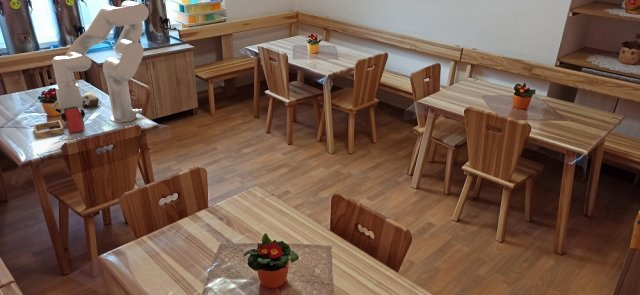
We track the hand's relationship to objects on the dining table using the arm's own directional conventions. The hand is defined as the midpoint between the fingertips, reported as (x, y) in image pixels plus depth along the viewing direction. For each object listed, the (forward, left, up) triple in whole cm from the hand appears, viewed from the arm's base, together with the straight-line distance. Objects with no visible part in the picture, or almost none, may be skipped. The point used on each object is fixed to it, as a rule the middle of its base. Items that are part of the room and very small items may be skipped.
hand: (74, 119), depth 229 cm
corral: (+11, -6, -7) cm, 14 cm away
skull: (-12, -34, -7) cm, 37 cm away
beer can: (0, 0, -6) cm, 6 cm away
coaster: (0, 0, -7) cm, 7 cm away
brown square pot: (-1, -10, -7) cm, 12 cm away
